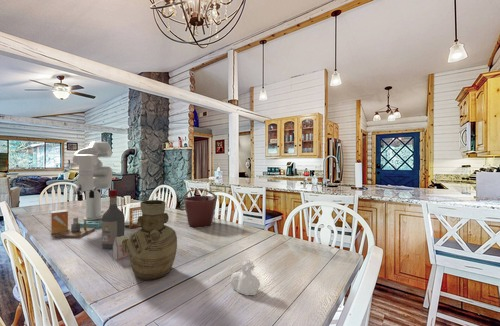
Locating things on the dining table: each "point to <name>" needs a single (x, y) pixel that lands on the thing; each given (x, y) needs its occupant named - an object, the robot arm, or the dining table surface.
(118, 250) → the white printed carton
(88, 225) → the keyed plate
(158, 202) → the ceramic vessel
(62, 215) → the small box
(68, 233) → the post base
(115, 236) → the liquor
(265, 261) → the dining table surface
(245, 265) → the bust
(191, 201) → the bucket
